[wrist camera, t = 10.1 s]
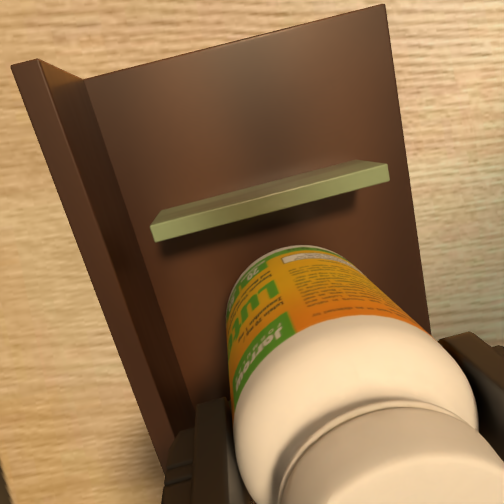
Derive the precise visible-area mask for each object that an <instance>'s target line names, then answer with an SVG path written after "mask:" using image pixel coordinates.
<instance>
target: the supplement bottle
mask: <svg viewBox="0 0 504 504" xmlns="http://www.w3.org/2000/svg"><path fill="white" fill-rule="evenodd" d="M226 336H227V352H228V369H229V382H230V396H231V411H232V426H233V439H234V446H235V455H236V460H237V464H238V469H239V472H240V475H241V477H242V480H243V482H244V484H245V486H246V488H247V490H248V492H249V494H250V495H251V497H252V499H253V500H254V501H255V502H256V504H504V462H503V461H502V460H501V458H500V457H499V456H498V455H497V453H496V452H495V451H494V449H493V448H492V447H491V446H490V444H489V443H488V442H487V441H486V440H485V439H484V438H483V437H482V435H481V434H480V433H479V418H478V410H477V405H476V400H475V397H474V394H473V391H472V389H471V386H470V384H469V382H468V380H467V378H466V376H465V374H464V373H463V371H462V370H461V368H460V367H459V365H458V364H457V363H456V361H455V360H454V359H453V358H452V357H451V356H450V354H449V353H448V352H447V351H446V350H445V349H444V348H443V347H442V346H441V345H440V344H439V343H438V342H437V341H436V340H435V339H434V338H433V337H432V336H431V335H430V334H429V333H428V332H426V331H425V330H424V329H423V328H422V327H421V326H420V325H419V324H418V323H416V322H415V321H414V320H413V319H412V318H411V317H410V316H409V315H408V314H406V313H405V312H404V311H403V310H402V309H401V308H400V307H399V306H398V305H396V304H395V303H394V302H393V301H392V300H391V299H390V298H389V297H388V296H387V295H385V294H384V293H383V292H382V291H381V290H380V289H379V288H378V287H377V286H376V285H374V284H373V283H372V282H371V281H370V280H369V279H368V278H367V277H366V276H365V275H364V274H363V273H362V272H361V271H360V270H358V269H357V268H356V267H355V266H354V265H353V264H352V263H350V262H349V261H348V260H346V259H345V258H343V257H342V256H340V255H338V254H337V253H335V252H333V251H330V250H328V249H325V248H321V247H317V246H311V245H295V246H288V247H284V248H280V249H276V250H274V251H271V252H269V253H267V254H265V255H263V256H262V257H260V258H259V259H257V260H256V261H254V262H253V263H252V264H251V265H250V266H249V267H248V268H247V269H246V270H245V271H244V272H243V273H242V274H241V276H240V277H239V279H238V280H237V282H236V283H235V285H234V287H233V289H232V291H231V294H230V297H229V300H228V304H227V310H226Z"/></svg>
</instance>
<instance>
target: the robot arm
mask: <svg viewBox="0 0 504 504" xmlns="http://www.w3.org/2000/svg"><path fill="white" fill-rule="evenodd" d="M438 343H439V344H440V345H441V346H442V347H443V348H444V349H445V350H446V351H447V352H448V353H449V354H450V356H451V357H452V358H453V359H454V360H455V361H456V363H457V364H458V365H459V367H460V368H461V370H462V371H463V373H464V374H465V376H466V378H467V380H468V382H469V384H470V386H471V389H472V391H473V394H474V397H475V400H476V405H477V410H478V418H479V433H480V434H481V435H482V437H483V438H484V439H485V440H486V441H487V442H488V443H489V444H490V446H491V447H492V448H493V449H494V451H495V452H496V453H497V455H498V456H499V457H500V458H501V460H502V461H503V462H504V347H502V346H499V345H498V346H494V347H491V346H490V345H488V344H487V343H486V342H484V341H483V340H482V339H480V338H479V337H478V336H476V335H475V334H474V333H472V332H465V333H461V334H458V335H454V336H450V337H447V338H443V339H440V340H439V341H438ZM166 468H167V471H166V473H165V480H164V484H165V487H163V495H162V502H161V504H250V495H249V492H248V490H247V488H246V486H245V484H244V482H243V480H242V477H241V475H240V472H239V469H238V464H237V460H236V455H235V446H234V439H233V426H232V413H231V410H230V407H229V403H228V401H227V398H226V397H222V398H218V399H215V400H211V401H207V402H204V403H200V404H197V405H196V416H195V427H193V428H189V429H186V430H182V431H179V433H178V435H177V436H176V438H175V440H174V441H173V443H172V445H171V446H170V448H169V452H168V459H167V466H166Z"/></svg>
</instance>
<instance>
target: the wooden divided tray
mask: <svg viewBox="0 0 504 504" xmlns="http://www.w3.org/2000/svg"><path fill="white" fill-rule="evenodd" d="M11 70H12V73H13V75H14V78H15V81H16V83H17V86H18V89H19V91H20V94H21V97H22V99H23V102H24V105H25V107H26V110H27V112H28V115H29V118H30V120H31V123H32V126H33V128H34V131H35V134H36V136H37V139H38V142H39V144H40V147H41V149H42V152H43V155H44V157H45V160H46V163H47V165H48V168H49V171H50V173H51V176H52V179H53V181H54V184H55V186H56V189H57V192H58V194H59V197H60V200H61V202H62V205H63V208H64V210H65V213H66V216H67V218H68V221H69V224H70V226H71V229H72V231H73V234H74V237H75V239H76V242H77V245H78V247H79V250H80V253H81V255H82V258H83V261H84V263H85V266H86V268H87V271H88V274H89V276H90V279H91V282H92V284H93V287H94V290H95V292H96V295H97V298H98V300H99V303H100V305H101V308H102V311H103V313H104V316H105V319H106V321H107V324H108V327H109V329H110V332H111V335H112V337H113V340H114V343H115V345H116V348H117V350H118V353H119V356H120V358H121V361H122V364H123V366H124V369H125V372H126V374H127V377H128V380H129V382H130V385H131V387H132V390H133V393H134V395H135V398H136V401H137V403H138V406H139V409H140V411H141V414H142V417H143V419H144V422H145V424H146V427H147V430H148V432H149V435H150V438H151V440H152V443H153V446H154V448H155V451H156V454H157V456H158V459H159V462H160V464H161V467H162V469H163V472H164V475H165V473H166V471H167V468H166V466H167V459H168V452H169V448H170V446H171V445H172V443H173V441H174V440H175V438H176V436H177V435H178V433H179V431H182V430H186V429H189V428H193V427H195V416H196V405H197V404H200V403H204V402H207V401H211V400H215V399H218V398H222V397H226V398H227V401H228V403H229V407H230V410H231V396H230V382H229V369H228V352H227V336H226V310H227V304H228V300H229V297H230V294H231V291H232V289H233V287H234V285H235V283H236V282H237V280H238V279H239V277H240V276H241V274H242V273H243V272H244V271H245V270H246V269H247V268H248V267H249V266H250V265H251V264H252V263H253V262H254V261H256V260H257V259H259V258H260V257H262V256H263V255H265V254H267V253H269V252H271V251H274V250H276V249H280V248H284V247H288V246H295V245H311V246H317V247H321V248H325V249H328V250H330V251H333V252H335V253H337V254H338V255H340V256H342V257H343V258H345V259H346V260H348V261H349V262H350V263H352V264H353V265H354V266H355V267H356V268H357V269H358V270H360V271H361V272H362V273H363V274H364V275H365V276H366V277H367V278H368V279H369V280H370V281H371V282H372V283H373V284H374V285H376V286H377V287H378V288H379V289H380V290H381V291H382V292H383V293H384V294H385V295H387V296H388V297H389V298H390V299H391V300H392V301H393V302H394V303H395V304H396V305H398V306H399V307H400V308H401V309H402V310H403V311H404V312H405V313H406V314H408V315H409V316H410V317H411V318H412V319H413V320H414V321H415V322H416V323H418V324H419V325H420V326H421V327H422V328H423V329H424V330H425V331H426V332H428V333H429V334H430V335H431V329H430V322H429V315H428V308H427V301H426V293H425V286H424V279H423V272H422V265H421V258H420V250H419V243H418V236H417V229H416V222H415V215H414V207H413V200H412V193H411V186H410V179H409V172H408V164H407V157H406V150H405V143H404V136H403V129H402V121H401V114H400V107H399V100H398V93H397V86H396V78H395V71H394V64H393V57H392V50H391V43H390V35H389V28H388V21H387V14H386V7H385V4H380V5H376V6H372V7H368V8H364V9H360V10H356V11H352V12H348V13H344V14H340V15H336V16H332V17H328V18H324V19H320V20H316V21H312V22H308V23H304V24H300V25H296V26H293V27H289V28H285V29H281V30H277V31H273V32H269V33H265V34H261V35H257V36H253V37H249V38H245V39H241V40H237V41H233V42H229V43H225V44H221V45H217V46H213V47H209V48H205V49H201V50H197V51H194V52H190V53H186V54H182V55H178V56H174V57H170V58H166V59H162V60H158V61H154V62H150V63H146V64H142V65H138V66H134V67H130V68H126V69H122V70H118V71H114V72H110V73H106V74H102V75H98V76H94V77H91V78H87V79H81V78H79V77H77V76H75V75H73V74H70V73H68V72H66V71H64V70H62V69H60V68H57V67H55V66H53V65H51V64H49V63H47V62H44V61H42V60H40V59H33V60H29V61H25V62H21V63H17V64H13V65H11ZM231 413H232V411H231ZM249 495H250V494H249ZM250 501H253V499H252V497H251V495H250Z"/></svg>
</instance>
